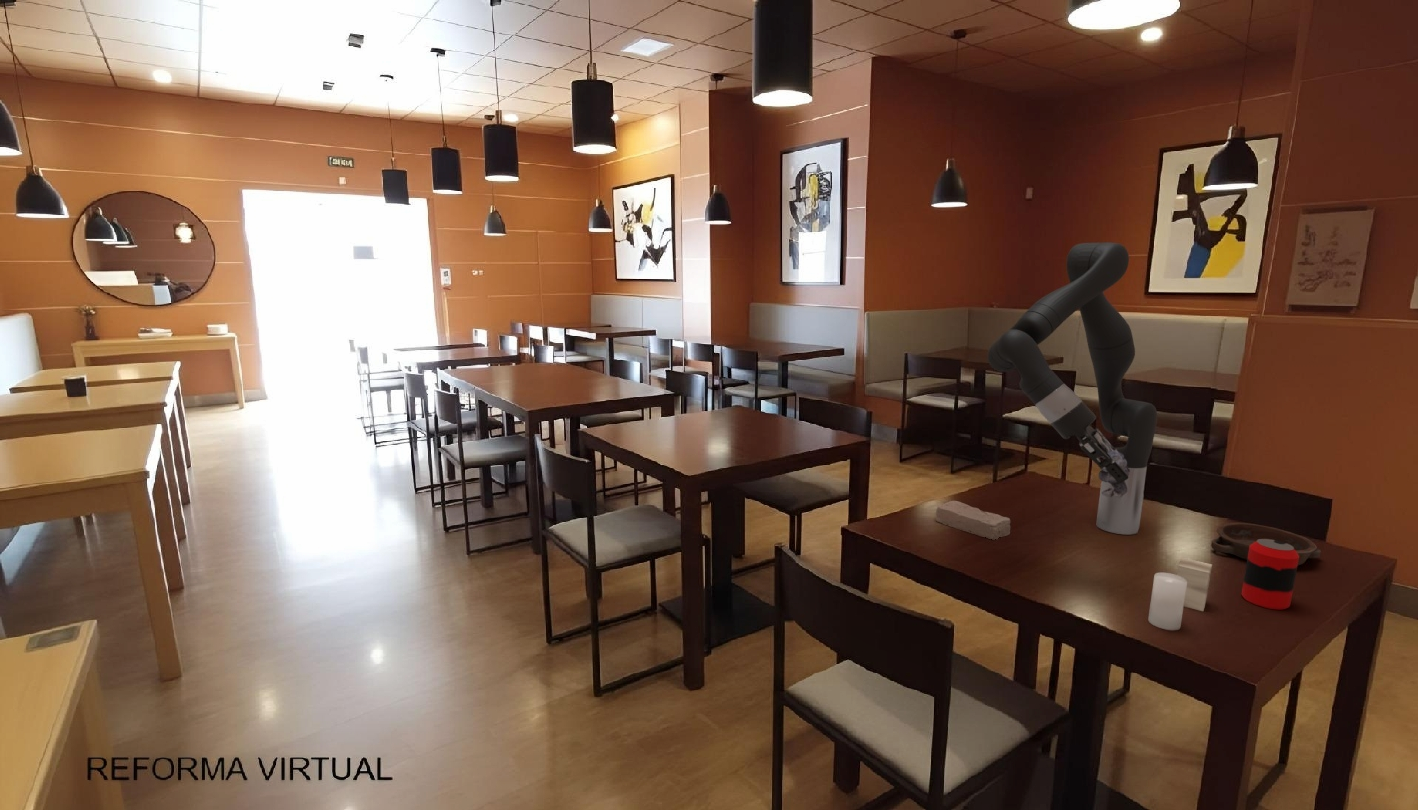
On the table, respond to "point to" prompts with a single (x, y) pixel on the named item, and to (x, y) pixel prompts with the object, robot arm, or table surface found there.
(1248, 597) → the soda can
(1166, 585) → the ceramic cylinder
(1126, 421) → the robot arm
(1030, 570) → the table surface
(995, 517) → the brick
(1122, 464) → the fossil stone
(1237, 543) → the dish
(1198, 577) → the birch block
